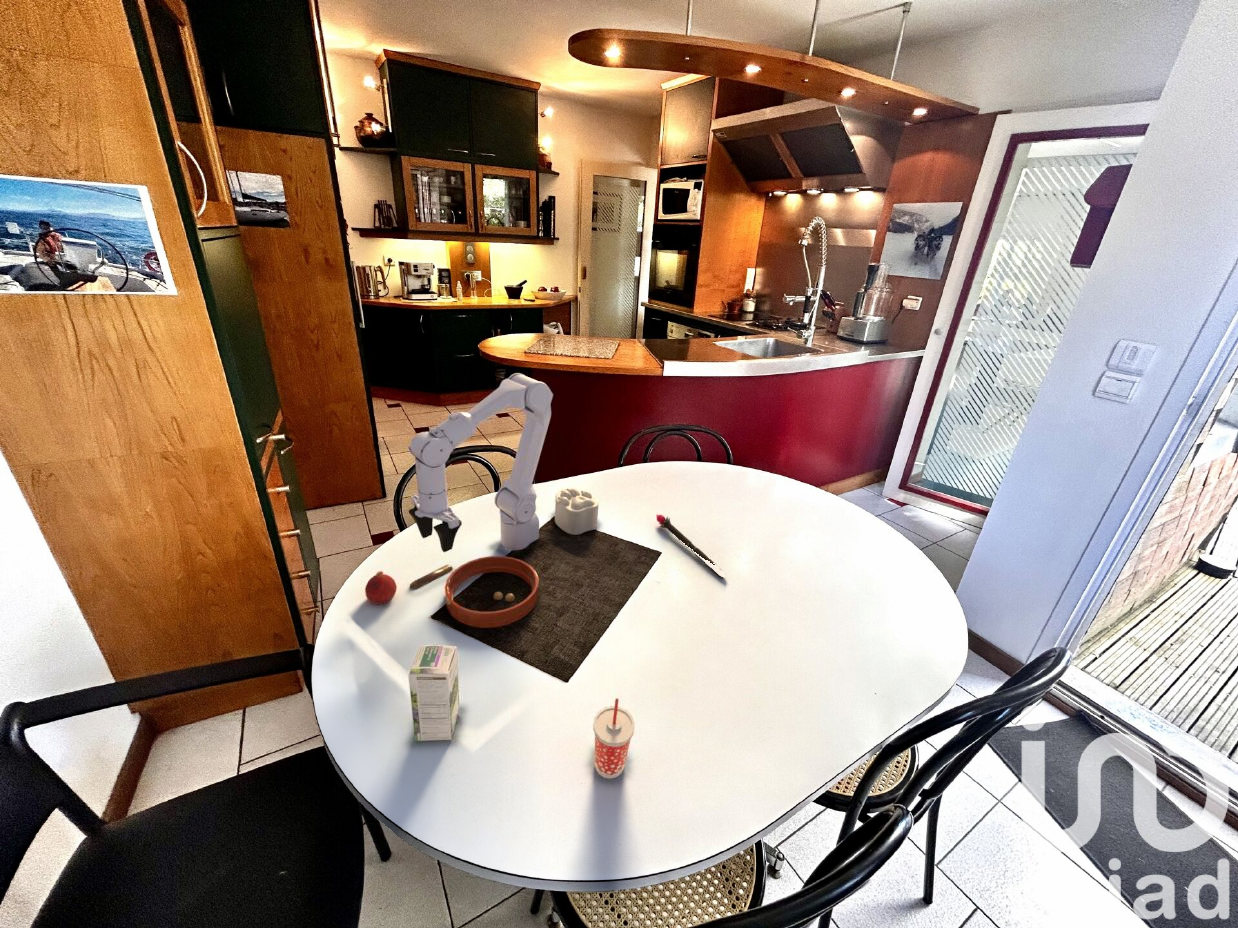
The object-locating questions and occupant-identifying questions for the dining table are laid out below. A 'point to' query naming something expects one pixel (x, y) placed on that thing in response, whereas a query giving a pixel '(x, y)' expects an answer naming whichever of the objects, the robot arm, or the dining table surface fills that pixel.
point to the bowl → (488, 566)
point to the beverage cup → (612, 739)
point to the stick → (431, 576)
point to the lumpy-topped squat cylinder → (576, 511)
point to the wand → (680, 536)
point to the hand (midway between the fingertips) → (437, 542)
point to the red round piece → (380, 588)
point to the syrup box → (434, 692)
